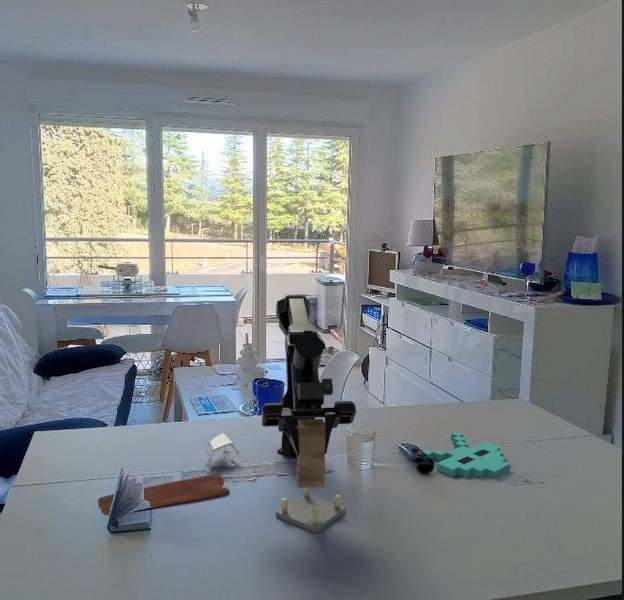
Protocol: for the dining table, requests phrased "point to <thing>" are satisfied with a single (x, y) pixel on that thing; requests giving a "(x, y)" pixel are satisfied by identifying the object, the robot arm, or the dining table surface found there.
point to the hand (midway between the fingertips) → (311, 454)
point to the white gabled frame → (220, 446)
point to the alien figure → (470, 459)
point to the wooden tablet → (176, 492)
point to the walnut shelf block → (311, 453)
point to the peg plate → (310, 511)
